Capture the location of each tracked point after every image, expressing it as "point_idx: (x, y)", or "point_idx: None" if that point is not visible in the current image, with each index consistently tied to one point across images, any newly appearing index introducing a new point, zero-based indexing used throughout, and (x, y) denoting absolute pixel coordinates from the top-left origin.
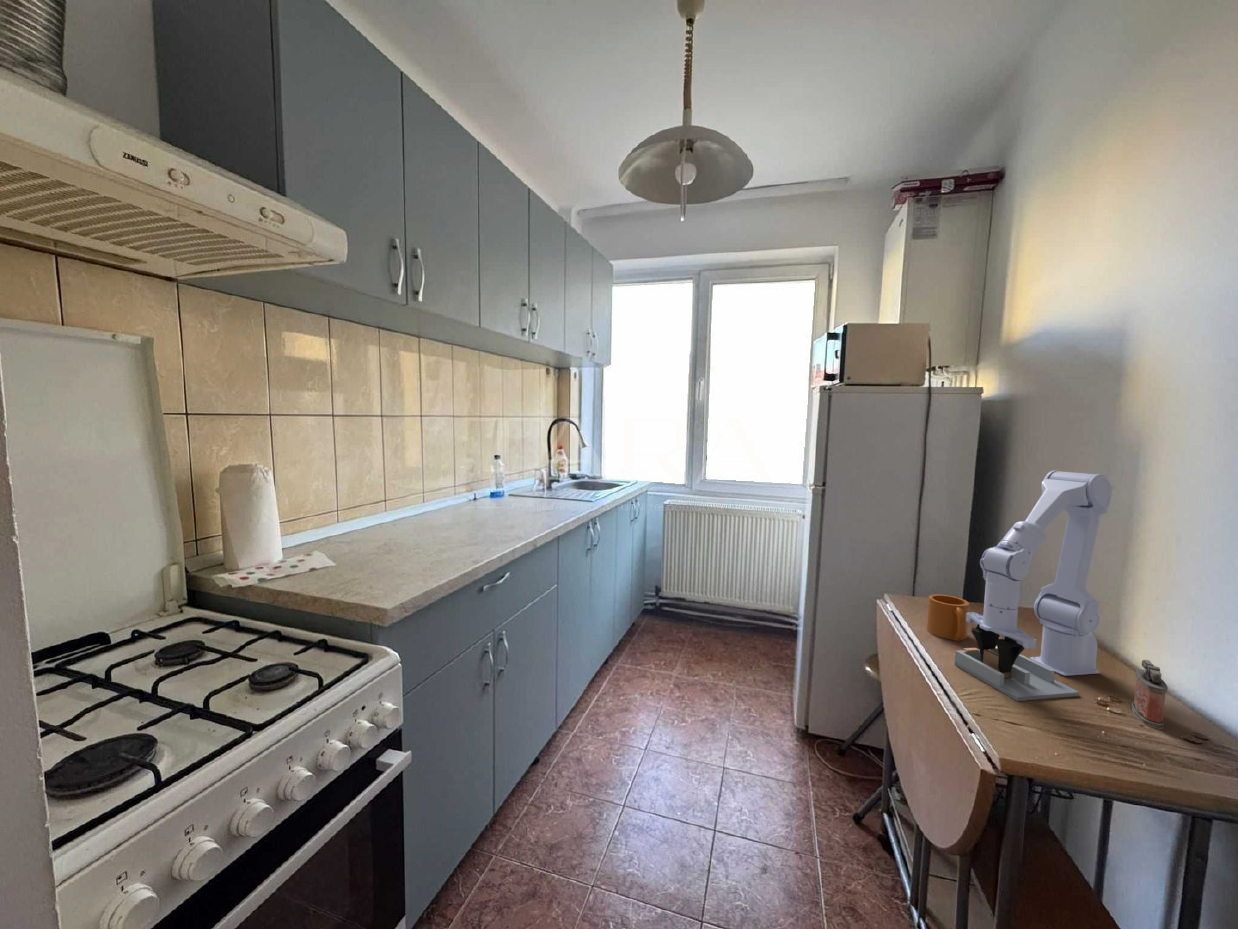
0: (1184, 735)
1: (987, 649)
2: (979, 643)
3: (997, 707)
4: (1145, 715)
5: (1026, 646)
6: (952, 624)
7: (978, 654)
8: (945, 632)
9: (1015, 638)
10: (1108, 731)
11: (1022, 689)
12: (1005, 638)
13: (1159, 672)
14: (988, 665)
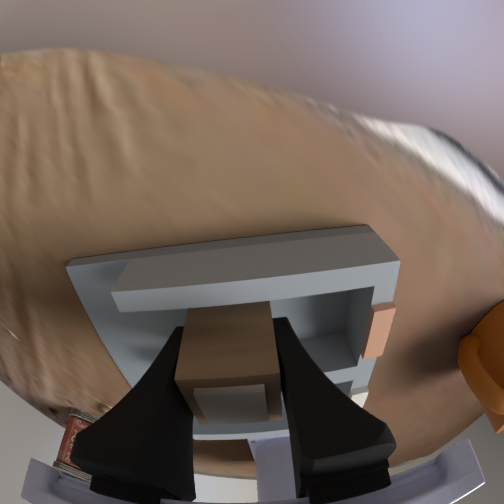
0: (67, 417)
1: (275, 385)
2: (312, 387)
3: (22, 159)
4: (75, 421)
5: (31, 469)
6: (496, 360)
7: (356, 343)
8: (493, 329)
9: (58, 501)
10: (19, 344)
11: (127, 323)
12: (147, 496)
13: None
14: (238, 318)
